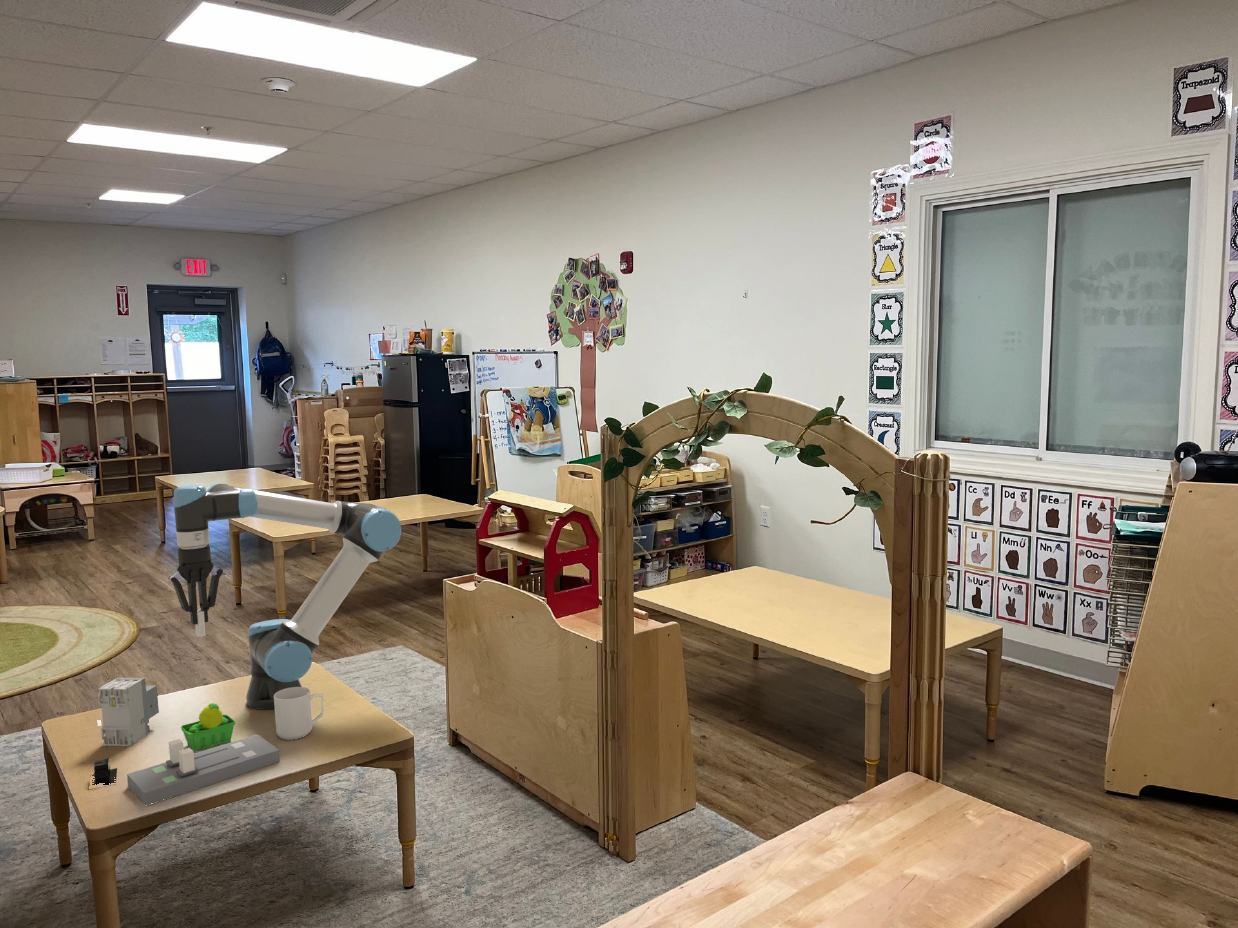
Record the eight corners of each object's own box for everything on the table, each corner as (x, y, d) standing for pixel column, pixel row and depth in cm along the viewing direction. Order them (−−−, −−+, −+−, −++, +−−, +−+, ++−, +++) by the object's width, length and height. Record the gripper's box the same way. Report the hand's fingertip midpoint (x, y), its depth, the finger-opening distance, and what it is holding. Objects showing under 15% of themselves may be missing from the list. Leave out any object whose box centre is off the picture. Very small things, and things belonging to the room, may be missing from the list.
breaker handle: (184, 757, 212) (182, 737, 212) (188, 761, 210) (187, 741, 209) (166, 762, 210) (164, 742, 209) (170, 767, 207) (168, 746, 207)
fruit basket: (227, 731, 235) (224, 690, 234) (239, 741, 229) (236, 699, 227) (181, 744, 228) (177, 702, 226) (192, 755, 221) (189, 712, 220)
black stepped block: (87, 773, 214) (86, 755, 213) (122, 766, 217) (121, 748, 217) (83, 795, 203) (81, 776, 202) (120, 787, 206) (118, 769, 206)
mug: (276, 743, 227) (274, 701, 226) (276, 730, 235) (273, 689, 234) (326, 735, 231) (323, 694, 230) (323, 722, 240) (321, 682, 238)
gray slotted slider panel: (258, 745, 226) (257, 733, 226) (279, 761, 217) (279, 749, 216) (128, 786, 205) (127, 773, 205) (145, 805, 196) (144, 792, 196)
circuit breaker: (163, 723, 242) (159, 669, 240) (130, 745, 228) (125, 689, 226) (137, 722, 242) (133, 669, 241) (102, 745, 228) (97, 688, 226)
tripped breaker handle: (194, 766, 207) (192, 746, 207) (199, 771, 205) (197, 750, 204) (175, 772, 204) (174, 751, 204) (180, 776, 202) (178, 755, 202)
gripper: (171, 552, 221) (179, 644, 224) (225, 543, 230) (232, 632, 233) (161, 548, 227) (169, 638, 230) (214, 540, 236) (221, 626, 239)
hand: (200, 635), depth 231 cm, fingers closed
